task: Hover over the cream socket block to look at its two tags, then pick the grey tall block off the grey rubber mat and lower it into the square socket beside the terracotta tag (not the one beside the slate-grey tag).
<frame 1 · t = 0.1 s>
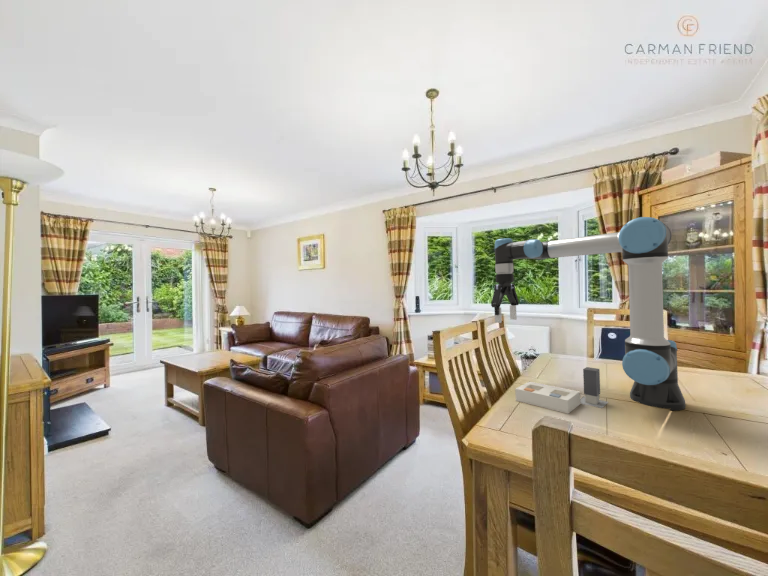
hand: (506, 321, 142), 28 cm above the table, fingers open, 13 cm apart
mat: (592, 403, 115), on the table
grey tall block: (592, 402, 115), point 1 cm above the table, touching mat
socket block: (547, 403, 116), on the table
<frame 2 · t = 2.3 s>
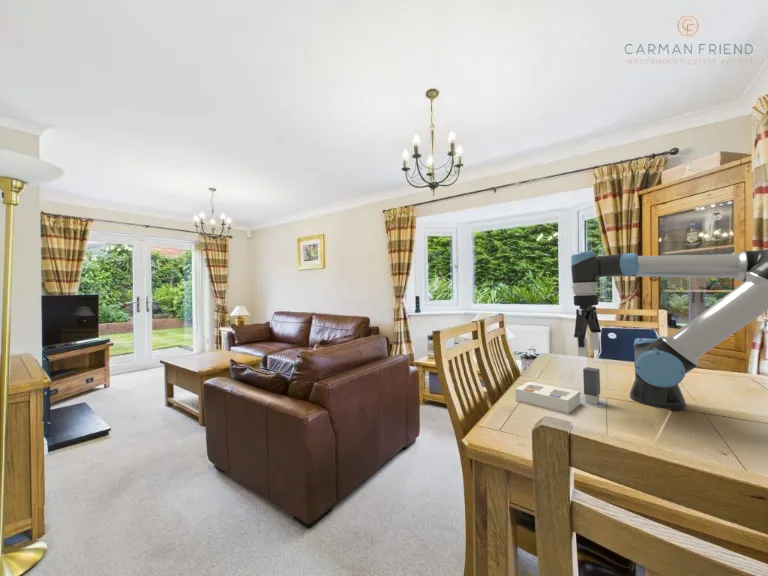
hand: (589, 353, 115), 18 cm above the table, fingers open, 13 cm apart
nothing on the table moved.
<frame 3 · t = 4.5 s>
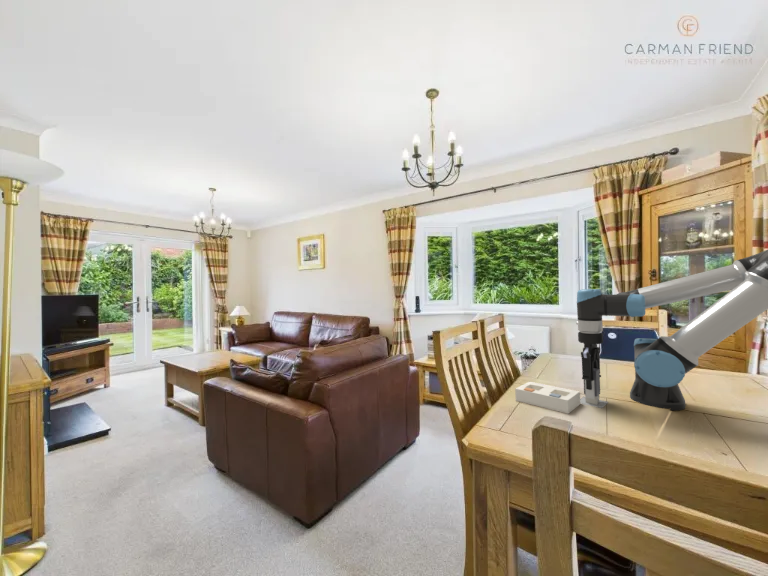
hand: (592, 396, 115), 3 cm above the table, fingers closed on grey tall block, 4 cm apart
grey tall block: (592, 402, 115), point 1 cm above the table, touching gripper, mat
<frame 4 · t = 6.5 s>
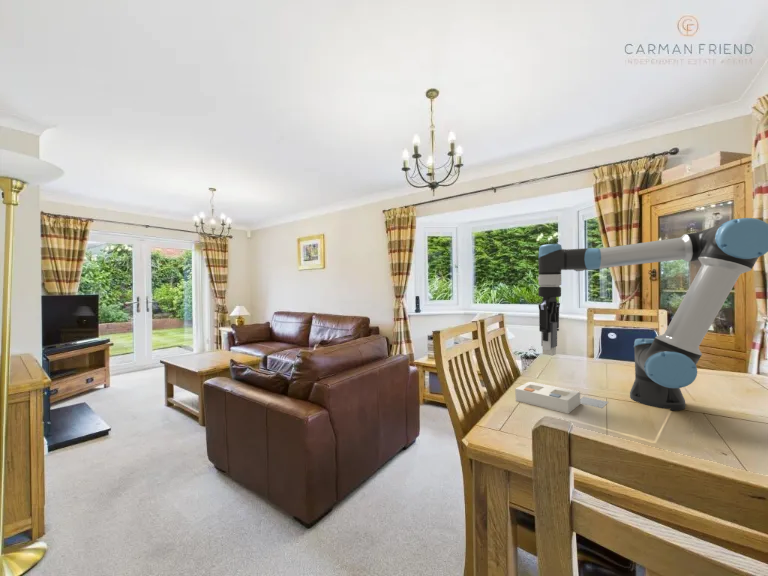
hand: (549, 348, 119), 20 cm above the table, fingers closed on grey tall block, 4 cm apart
grey tall block: (549, 354, 119), point 18 cm above the table, touching gripper
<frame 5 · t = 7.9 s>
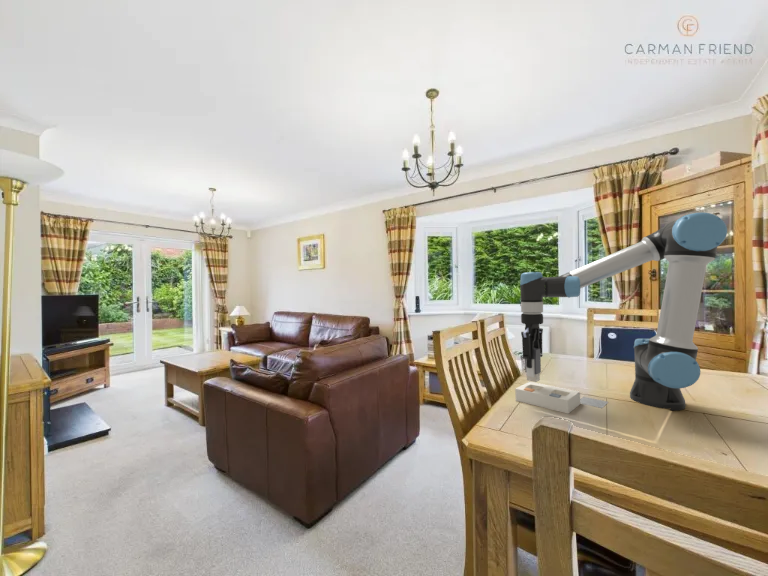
hand: (533, 374, 120), 10 cm above the table, fingers closed on grey tall block, 4 cm apart
grey tall block: (533, 380, 120), point 8 cm above the table, touching gripper
when the fingers open (6 cm above the table, at t = 8.8 s): grey tall block drops 3 cm, resting on socket block.
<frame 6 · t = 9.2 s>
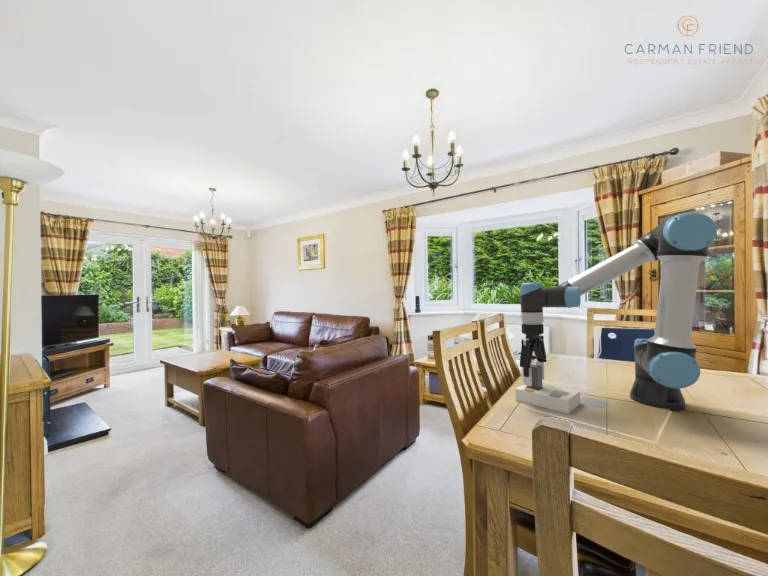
hand: (534, 381, 120), 7 cm above the table, fingers open, 10 cm apart
grey tall block: (534, 397, 120), point 1 cm above the table, touching socket block
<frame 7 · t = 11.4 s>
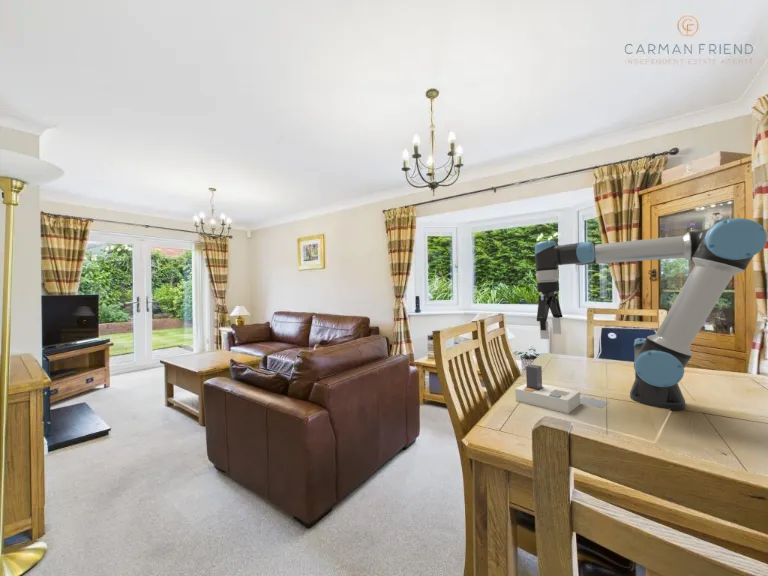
hand: (551, 336, 123), 23 cm above the table, fingers open, 13 cm apart
nothing on the table moved.
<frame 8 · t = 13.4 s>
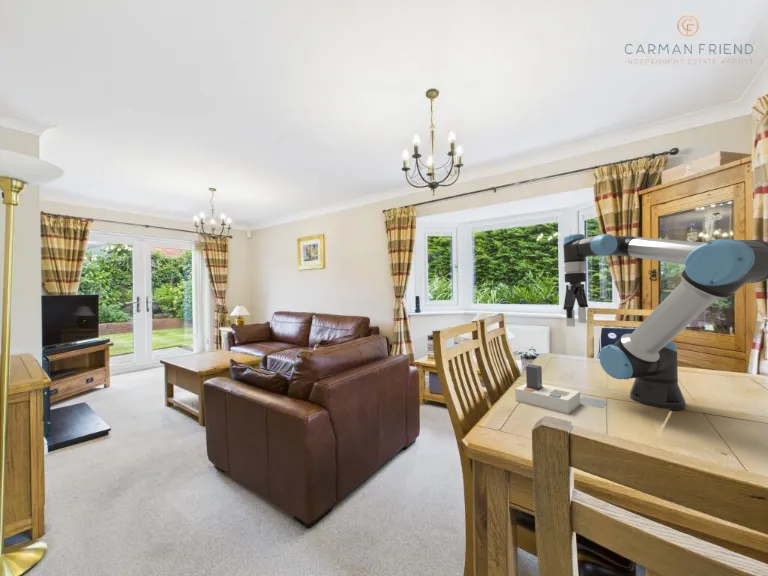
hand: (576, 324, 130), 27 cm above the table, fingers open, 13 cm apart
nothing on the table moved.
at the end: grey tall block 0.1 cm from the target spot on the socket block, point 1.0 cm above the socket block's base; grey tall block tilted 0°; the gripper is holding nothing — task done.
